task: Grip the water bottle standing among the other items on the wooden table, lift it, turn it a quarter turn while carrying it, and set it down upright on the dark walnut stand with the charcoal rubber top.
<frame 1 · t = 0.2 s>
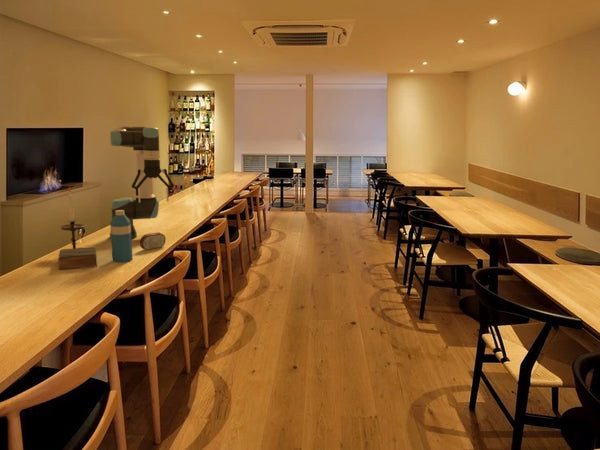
hand: (153, 201, 245), 28 cm above the bar counter, tool pointing down, fingers open, 13 cm apart
tin: (153, 249, 266), on the bar counter
water bottle: (122, 260, 242), on the bar counter
stand: (78, 264, 234), on the bar counter
candlestick: (74, 253, 253), on the bar counter
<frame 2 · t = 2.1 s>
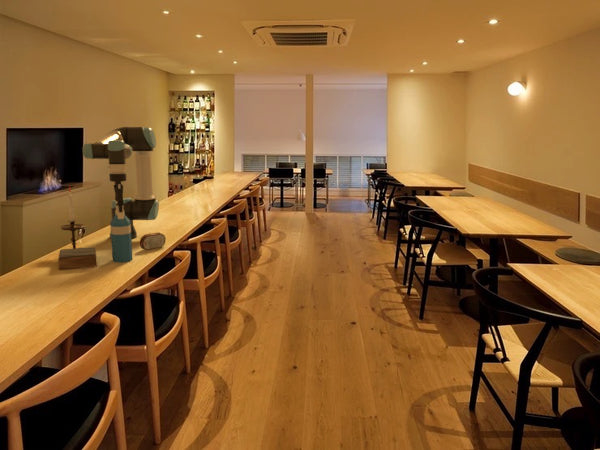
hand: (120, 216, 237), 22 cm above the bar counter, tool pointing down, fingers open, 13 cm apart
nothing on the bar counter moved.
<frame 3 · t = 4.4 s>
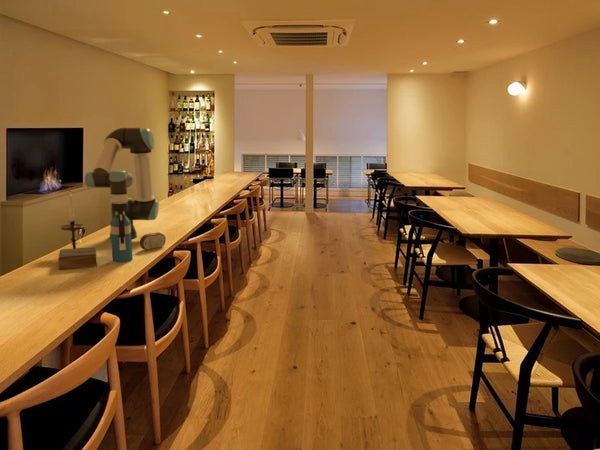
hand: (122, 247, 241), 7 cm above the bar counter, tool pointing down, fingers closed on water bottle, 9 cm apart
water bottle: (122, 260, 242), on the bar counter, touching gripper
everything else where it was.
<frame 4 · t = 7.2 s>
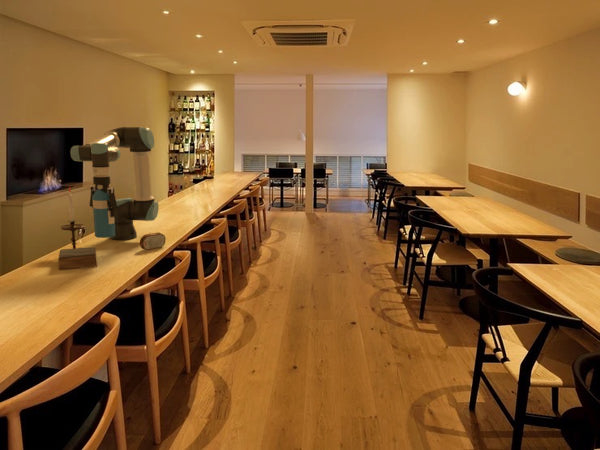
hand: (104, 222, 235), 20 cm above the bar counter, tool pointing down, fingers closed on water bottle, 9 cm apart
water bottle: (105, 236, 236), point 13 cm above the bar counter, touching gripper
everything else where it was.
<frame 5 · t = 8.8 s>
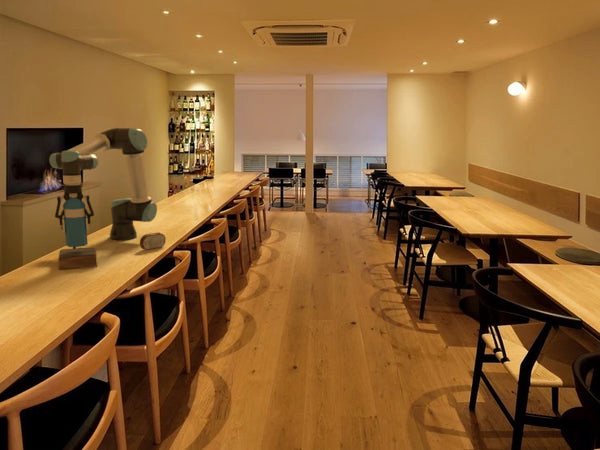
hand: (76, 231, 231), 16 cm above the bar counter, tool pointing down, fingers closed on water bottle, 9 cm apart
water bottle: (77, 245, 232), point 9 cm above the bar counter, touching gripper
everything else where it was.
when the fingers open (14 cm above the bar counter, at t = 10.0 s): water bottle drops 1 cm, resting on stand.
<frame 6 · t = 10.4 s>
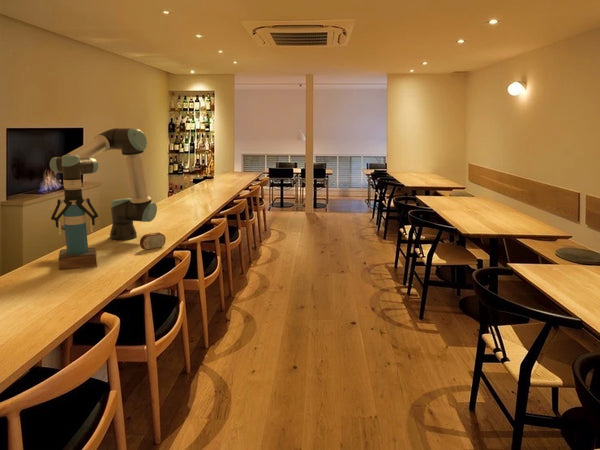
hand: (76, 233, 231), 15 cm above the bar counter, tool pointing down, fingers open, 13 cm apart
water bottle: (77, 252, 233), point 6 cm above the bar counter, touching stand
everything else where it was.
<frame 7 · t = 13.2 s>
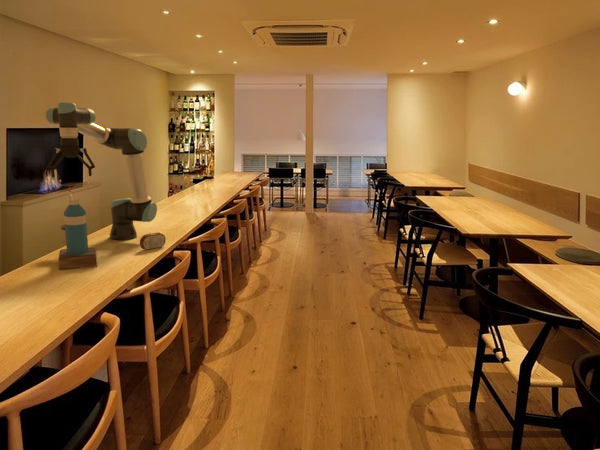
hand: (72, 183, 226), 39 cm above the bar counter, tool pointing down, fingers open, 13 cm apart
nothing on the bar counter moved.
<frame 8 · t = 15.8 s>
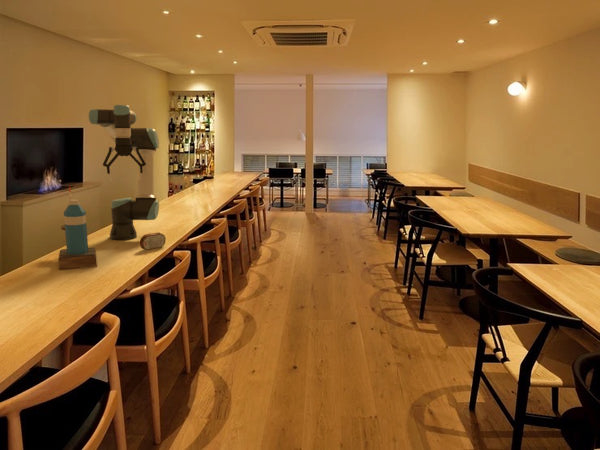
hand: (125, 180, 245), 39 cm above the bar counter, tool pointing down, fingers open, 13 cm apart
nothing on the bar counter moved.
at the end: water bottle inside the target area on the stand (0.0 cm from its centre), point 5.8 cm above the stand's base; water bottle tilted 0°; the gripper is holding nothing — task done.
